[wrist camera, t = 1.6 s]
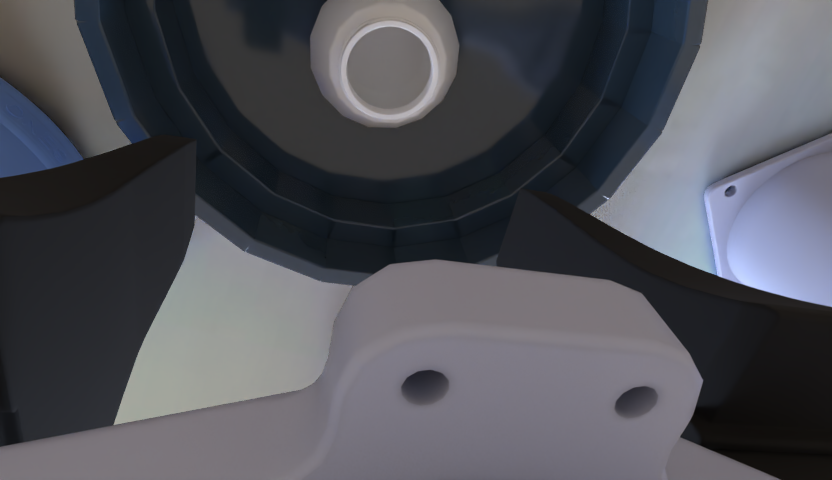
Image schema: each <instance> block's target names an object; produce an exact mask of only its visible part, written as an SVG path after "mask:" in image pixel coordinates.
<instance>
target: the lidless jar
mask: <svg viewBox="0 0 832 480" xmlns="http://www.w3.org/2000/svg"><path fill="white" fill-rule="evenodd" d="M458 54H459V42H458V38H457V34H456V31H455V27H454V24H453V20H452V17H451V15H450V13H449V12H448V11H447V10H446V8H445V7H444V6H443V4H442V3H441V2H440V1H439V0H327V1H326V2H325V3H324V4H323V5H322V7H321V9H320V12H319V15H318V17H317V20H316V22H315V25H314V27H313V30H312V33H311V35H310V60H311V70H312V72H313V74H314V77H315V79H316V82H317V84H318V86H319V89H320V91H321V93H322V95H323V96H324V97H325V98H326V99H327V100H328V101H329V102H330V104H331V105H332V106H333V107H334V108H335V109H336V110H337V111H338V112H339V113H340V114H341V115H342V116H344V117H347V118H349V119H351V120H353V121H356V122H358V123H360V124H363V125H365V126H367V127H382V128H397V127H400V126H403V125H406V124H408V123H411V122H414V121H417V120H419V119H422V118H423V117H424V116H425V115H427V114H428V113H429V112H430V111H431V110H432V109H433V108H435V107H436V106H437V105H438V104H439V103H440V102H441V101H443V99H444V97H445V95H446V93H447V91H448V89H449V88H450V86H451V84H452V82H453V80H454V78H455V76H456V72H457V63H458Z"/></svg>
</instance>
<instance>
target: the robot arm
mask: <svg viewBox="0 0 832 480" xmlns="http://www.w3.org/2000/svg"><path fill="white" fill-rule="evenodd" d="M196 142H197V139H192V138H185V137H178V136H172V135H159V136H155V137H151V138H148V139H145V140H142V141H139V142H136V143H133V144H130V145H127V146H124V147H121V148H119V149H116V150H113V151H110V152H107V153H104V154H101V155H97V156H94V157H91V158H87V159H84V160H80V161H77V162H74V163H70V164H67V165H63V166H59V167H55V168H51V169H46V170H42V171H37V172H32V173H26V174H21V175H15V176H9V177H3V178H0V480H832V133H831V134H828V135H826V136H823V137H821V138H819V139H816V140H814V141H812V142H809V143H807V144H805V145H802V146H800V147H797V148H795V149H793V150H790V151H788V152H786V153H783V154H781V155H779V156H776V157H774V158H771V159H769V160H767V161H764V162H762V163H760V164H757V165H755V166H753V167H750V168H748V169H745V170H743V171H741V172H738V173H736V174H734V175H731V176H729V177H727V178H724V179H722V180H719V181H717V182H715V183H713V184H711V185H709V186H708V188H707V189H706V190H705V192H704V200H705V206H706V212H707V218H708V223H709V229H710V235H711V240H712V246H713V252H714V258H715V263H716V269H717V275H718V276H717V275H714V274H711V273H708V272H705V271H703V270H700V269H697V268H695V267H692V266H690V265H687V264H685V263H683V262H681V261H678V260H676V259H674V258H671V257H669V256H667V255H664V254H662V253H660V252H658V251H656V250H654V249H652V248H650V247H648V246H646V245H644V244H642V243H640V242H638V241H636V240H634V239H632V238H630V237H629V236H627V235H625V234H623V233H621V232H619V231H618V230H616V229H614V228H612V227H611V226H609V225H607V224H605V223H604V222H602V221H600V220H598V219H597V218H595V217H593V216H592V215H590V214H588V213H586V212H585V211H583V210H581V209H579V208H578V207H576V206H574V205H572V204H571V203H569V202H567V201H565V200H563V199H561V198H559V197H557V196H555V195H552V194H549V193H546V192H542V191H535V190H528V189H522V188H520V191H519V194H518V197H517V200H516V203H515V206H514V209H513V212H512V215H511V218H510V221H509V224H508V227H507V230H506V233H505V236H504V239H503V242H502V245H501V248H500V251H499V254H498V257H497V260H496V265H497V267H496V266H487V265H479V264H470V263H462V262H454V261H445V260H437V259H434V260H425V261H415V262H406V263H397V264H389V265H388V266H386V267H385V268H383V269H381V270H380V271H378V272H377V273H375V274H373V275H372V276H370V277H368V278H367V279H365V280H364V281H362V282H360V283H359V284H357V285H355V286H354V287H352V289H351V291H350V293H349V295H348V297H347V298H346V300H345V302H344V304H343V306H342V308H341V310H340V311H339V313H338V315H337V317H336V319H335V321H334V326H333V332H332V337H331V343H330V348H329V354H328V359H327V361H326V364H325V367H324V370H323V372H322V374H321V375H320V377H319V378H318V379H317V380H316V382H315V383H313V384H312V385H310V386H308V387H306V388H304V389H302V390H297V391H292V392H287V393H281V394H276V395H271V396H265V397H260V398H255V399H250V400H244V401H239V402H234V403H229V404H223V405H218V406H213V407H207V408H202V409H197V410H192V411H186V412H181V413H176V414H170V415H165V416H160V417H155V418H149V419H144V420H139V421H133V422H128V423H123V424H118V425H113V424H114V421H115V418H116V415H117V412H118V409H119V406H120V403H121V400H122V397H123V394H124V391H125V388H126V386H127V383H128V380H129V377H130V374H131V372H132V369H133V366H134V363H135V360H136V357H137V355H138V352H139V350H140V348H141V345H142V343H143V341H144V338H145V336H146V334H147V332H148V330H149V328H150V326H151V324H152V322H153V320H154V318H155V316H156V314H157V312H158V311H159V309H160V307H161V305H162V303H163V301H164V299H165V297H166V295H167V293H168V291H169V289H170V287H171V285H172V283H173V281H174V279H175V277H176V275H177V273H178V271H179V269H180V267H181V265H182V263H183V260H184V257H185V254H186V251H187V248H188V245H189V242H190V238H191V235H192V232H193V228H194V221H195V182H196ZM730 186H731V188H730V190H729V191H727V192H725V191H726V189H727V188H728V187H730Z"/></svg>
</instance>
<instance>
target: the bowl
mask: <svg viewBox="0 0 832 480" xmlns="http://www.w3.org/2000/svg"><path fill="white" fill-rule="evenodd" d="M326 1H327V0H74V7H75V19H76V20H77V25H78V27H79V30H80V32H81V35H82V38H83V40H84V43H85V45H86V48H87V50H88V53H89V56H90V58H91V61H92V63H93V66H94V68H95V71H96V74H97V76H98V79H99V81H100V84H101V86H102V89H103V92H104V94H105V97H106V99H107V102H108V104H109V107H110V109H111V112H112V115H113V117H114V120H115V121H117V122H116V123H117V125H118V126H119V127H120V129H121V130H122V131H123V132H124V134H125V135H126V136H127V138H128V139H129V140H130V142H131V143H132V144H133V143H136V142H139V141H142V140H145V139H148V138H151V137H155V136H159V135H172V136H178V137H185V138H192V139H197V142H196V182H195V215H196V216H197V217H199V218H200V219H201V220H203V221H204V222H205V223H207V224H208V225H209V226H211V227H212V228H213V229H215V230H216V231H217V232H219V233H220V234H221V235H223V236H224V237H225V238H227V239H228V240H229V241H231V242H232V243H233V244H235V245H236V246H238V247H239V248H240V249H242V250H243V251H246V252H247V253H249V254H252V255H255V256H257V257H260V258H262V259H265V260H267V261H270V262H272V263H275V264H277V265H280V266H283V267H285V268H288V269H290V270H293V271H295V272H298V273H300V274H303V275H305V276H308V277H311V278H313V279H316V280H318V281H320V280H321V282H327V283H336V284H345V285H354V286H355V285H357V284H359V283H360V282H362V281H364V280H365V279H367V278H368V277H370V276H372V275H373V274H375V273H377V272H378V271H380V270H381V269H383V268H385V267H386V266H388V265H389V264H397V263H406V262H415V261H425V260H434V259H437V260H445V261H454V262H462V263H470V264H479V265H487V266H496V267H497V265H496V260H497V257H498V254H499V251H500V248H501V245H502V242H503V239H504V236H505V233H506V230H507V227H508V224H509V221H510V218H511V215H512V212H513V209H514V206H515V203H516V200H517V197H518V194H519V191H520V188H522V189H528V190H535V191H542V192H546V193H549V194H552V195H555V196H557V197H559V198H561V199H563V200H565V201H567V202H569V203H571V204H572V205H574V206H576V207H578V208H579V209H581V210H583V211H585V212H586V213H588V214H590V213H592V212H593V211H594V210H596V209H597V208H598V207H600V206H601V205H602V204H603V203H605V202H606V201H607V200H608V199H610V198H611V196H612V195H613V194H614V193H615V191H616V190H617V189H618V188H619V186H620V185H621V184H622V183H623V181H624V180H625V179H626V177H627V176H628V175H629V174H630V172H631V171H632V170H633V169H634V167H635V166H636V165H637V164H638V162H639V161H640V160H641V159H642V157H643V156H644V155H645V154H646V152H647V151H648V150H649V148H650V147H651V146H652V145H653V143H654V142H655V141H656V140H657V138H658V137H659V136H660V135H661V133H662V131H663V129H664V127H665V125H666V123H667V120H668V118H669V116H670V114H671V111H672V109H673V107H674V105H675V102H676V100H677V98H678V96H679V93H680V91H681V89H682V87H683V84H684V82H685V80H686V78H687V75H688V73H689V71H690V69H691V66H692V64H693V62H694V60H695V57H696V55H697V53H698V51H699V48H700V44H701V42H702V35H703V29H704V23H705V16H706V10H707V4H708V0H439V1H440V2H441V3H442V4H443V6H444V7H445V8H446V10H447V11H448V12H449V13H450V15H451V17H452V20H453V24H454V27H455V31H456V34H457V38H458V42H459V54H458V63H457V72H456V76H455V78H454V80H453V82H452V84H451V86H450V88H449V89H448V91H447V93H446V95H445V97H444V99H443V101H441V102H440V103H439V104H438V105H437V106H436V107H435V108H433V109H432V110H431V111H430V112H429V113H428V114H427V115H425V116H424V117H423V118H422V119H419V120H417V121H414V122H411V123H408V124H406V125H403V126H400V127H397V128H382V127H367V126H365V125H363V124H360V123H358V122H356V121H353V120H351V119H349V118H347V117H344V116H342V115H341V114H340V113H339V112H338V111H337V110H336V109H335V108H334V107H333V106H332V105H331V104H330V102H329V101H328V100H327V99H326V98H325V97H324V96H323V95H322V93H321V91H320V89H319V86H318V84H317V82H316V79H315V77H314V74H313V72H312V70H311V60H310V35H311V33H312V30H313V27H314V25H315V22H316V20H317V17H318V15H319V12H320V9H321V7H322V5H323V4H324V3H325V2H326Z"/></svg>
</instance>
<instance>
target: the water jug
mask: <svg viewBox="0 0 832 480" xmlns="http://www.w3.org/2000/svg"><path fill="white" fill-rule="evenodd" d="M80 160H84V159H83V157H82V156H81V155H80V153H79V152H78V151H77V149H76V148H75V147H74V145H73V144H72V143H71V142H70V140H69V139H68V138H67V137H66V136H65V135H64V133H63V132H62V131H61V130H60V129H59V128H58V127H57V126H56V125H55V124H54V123H53V122H52V121H51V120H50V119H49V118H48V117H47V116H46V115H45V114H44V113H43V112H42V111H41V110H40V109H39V108H38V107H37V106H36V105H35V104H33V103H32V102H31V101H30V100H29V99H28V98H26V97H25V96H24V95H23V94H22V93H20V92H19V91H18V90H16V89H15V88H14V87H13V86H11V85H10V84H9V83H7V82H6V81H4V80H3V79H2V78H0V178H3V177H9V176H15V175H21V174H26V173H32V172H37V171H42V170H46V169H51V168H55V167H59V166H63V165H67V164H70V163H74V162H77V161H80Z"/></svg>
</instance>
